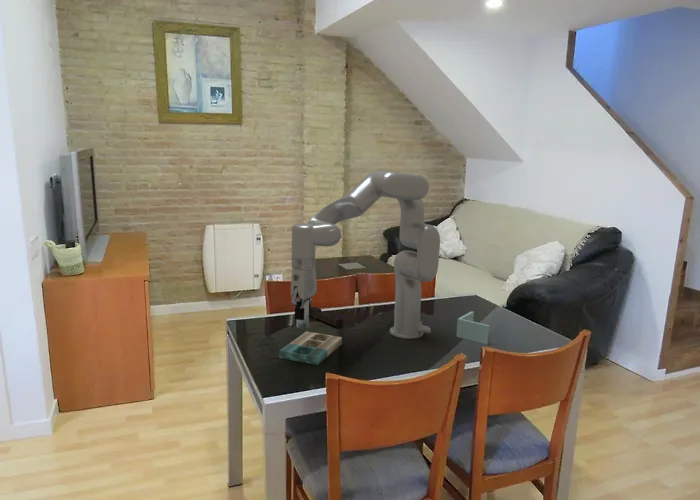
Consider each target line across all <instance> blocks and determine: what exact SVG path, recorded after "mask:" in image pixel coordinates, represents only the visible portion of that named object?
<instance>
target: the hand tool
mask: <svg viewBox="0 0 700 500" xmlns="http://www.w3.org/2000/svg"><path fill="white" fill-rule="evenodd" d="M311 316H312V317H313V318H312V317H311ZM311 316H310V317H311V318H312V319H314V320H316V319H319V320H320V321H321V322H325V323H326V324H329V325H331V326H333V327H334V328H335V329H341V328H343V326H344V321H345V320H344V319H343V318H341V317H340V318H339V317H338V316H337V317H336V316H335V315H331V314H329V313H326V312H324V311H322V309H321V308H319V307H317V306H311Z"/></svg>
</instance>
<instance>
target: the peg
mask: <svg viewBox="0 0 700 500" xmlns="http://www.w3.org/2000/svg"><path fill="white" fill-rule="evenodd" d="M298 301H299V302H300V303H301V301H300V300H298ZM303 308H304V320H297V319H296V326H295V327H296V328H297V329H301V330H302V329H309V327H310V316H309V299H306V300H304V305H303Z"/></svg>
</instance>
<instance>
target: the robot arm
mask: <svg viewBox="0 0 700 500" xmlns="http://www.w3.org/2000/svg"><path fill="white" fill-rule="evenodd" d="M429 189H430V184H429V182H428V180H427V178H425V177H424V176H423V175H421V174H411V173H401V172H395V171H385V170H374V171H371V172H369V173H368V174H367V175H366V176H365V177H364V178H363V179H362V180H360V181H359V182H358V183H357V185H355V186H354V187H353V188H352V189H350V191H349V192H348V193H347V194H346V195H345V196H342V197H341V198H339V199H336V200H334V201H333V202H331V203H329V204H327V205H326V206H325V207H323V208H321V209H320V210H319V211H318V212H316V213H315V214H314V215H313V216H312V217H311V218H310V219H309V220H308V222H307V223H304V222H302V223H301V222H300V223H295V224H293V225H292V227H291V268H292V271H291V278H290V279H291V280H290V297H291V304H293V308H294V319H295V320H296V321H297V320H304V308H303V305H304V300H306V299H309V317H311V307H312V301H313V300H312V299H313V296H315V295H316V293H317V284H318V283H317V272H316V270H317V269H316V247H333V246H336V245H337V244H338V243H339V242H340V241H341V238H342V231H341V229H340V227H338V226H337V225H336V224H338V223H340V222H342V221H345V220H349V219H354V218H358V217H361V216H363V215H364V214H366V212H368V210H369V209H370V208H371V207H372V206H373V205H375V203H376V202H377V201H378V200H380V198H382V197H383V198H388V199H389V198H391V199H396V200H397V202H398V204H399V208H400V218H399V219H400V222H399V241H400V243H401V244H402V245H403V246H405V247H407V248H411V249H415V250H416V251H414V250H408V249H406V250H405V249H404V250H401V251H399V252H398V253H397V254H396V255H395V257H394V259H393V272H394V276H395V290H394V291H395V295H394V315H393V316H394V322H393V326H392V327H390V329H389V334H390V335H391V336H393V337H396V338H398V339H405V340H406V339H408V340H412V339H413V340H414V339H419V338H421V337H423V336H424V333H426V334H431V332H432V331H431V330H432V328H431V327H430V326H428V325H424V324H423V322H422V321H421V306H422V305H421V304H422V303H421V301H422V285H421V284H422V283H421V282H423V283H428V282H431V281H432V280H434V278H435V277H436V276H437V273H438V269H439V261H440V247H441V236H440V232H439V231H438V229H437V228H436V226H433V225H432V224H428V223H425V206H424V200H423V199H424V198H425V197H426V196H427V195H428V193H429ZM298 300H300V301H301V303H300V302H299V301H298Z"/></svg>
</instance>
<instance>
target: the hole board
mask: <svg viewBox="0 0 700 500" xmlns="http://www.w3.org/2000/svg"><path fill="white" fill-rule="evenodd" d="M342 345H343V337H341V336H338V335H337V336H336V335H330V334H324V333H318V332H311V331H305V332H304V333H303V334H301V335H300V336H298V337H296V338H295V339H294V340H292V341H291V342H290V343H288V344H286V345H284V347H283V348H281V349H280V350H278V355H279V356H278V357H279V359H282V360H283V359H284V360H290V361H295V362H298V363H299V362H301V363H306V364H310V365H311V364H312V365H316V366H318V365H320V364H321V363H322V362H324V360H325V359H327V358H328V357H329V356H330V355H332V353H334V351H336V350H337V349H339V348H340V346H342Z"/></svg>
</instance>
